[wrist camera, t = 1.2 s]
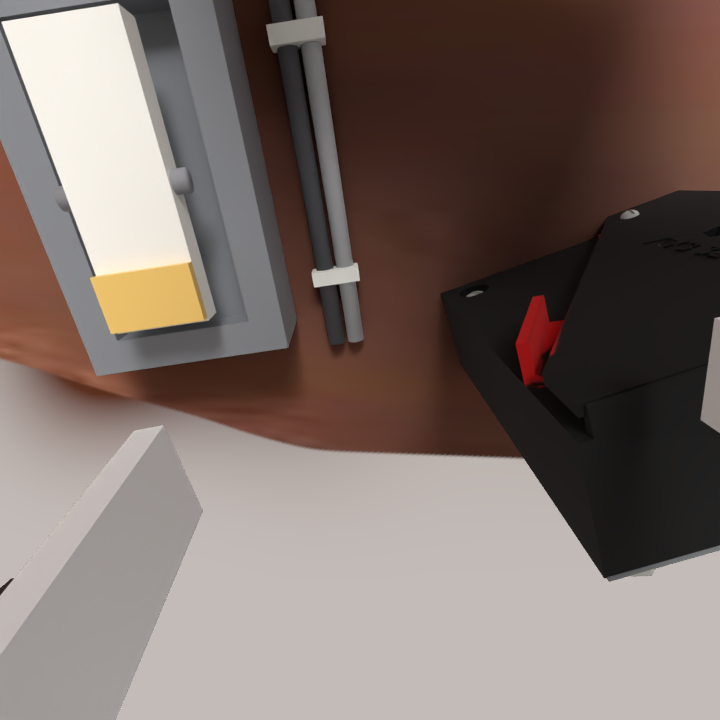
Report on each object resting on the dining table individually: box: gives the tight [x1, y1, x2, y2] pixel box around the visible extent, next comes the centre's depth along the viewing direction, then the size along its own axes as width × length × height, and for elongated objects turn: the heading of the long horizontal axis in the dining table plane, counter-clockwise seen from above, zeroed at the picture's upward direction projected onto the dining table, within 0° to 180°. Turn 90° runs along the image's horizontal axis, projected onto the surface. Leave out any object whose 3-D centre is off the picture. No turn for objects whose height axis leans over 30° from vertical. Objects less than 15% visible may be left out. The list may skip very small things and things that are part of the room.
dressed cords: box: [266, 0, 364, 345], centre depth 28 cm, size 24×3×2 cm, turn 8°
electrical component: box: [441, 190, 720, 581], centre depth 23 cm, size 18×10×20 cm, turn 110°
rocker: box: [1, 3, 216, 334], centre depth 21 cm, size 14×6×2 cm, turn 8°
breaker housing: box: [0, 0, 297, 376], centre depth 26 cm, size 20×12×6 cm, turn 8°
